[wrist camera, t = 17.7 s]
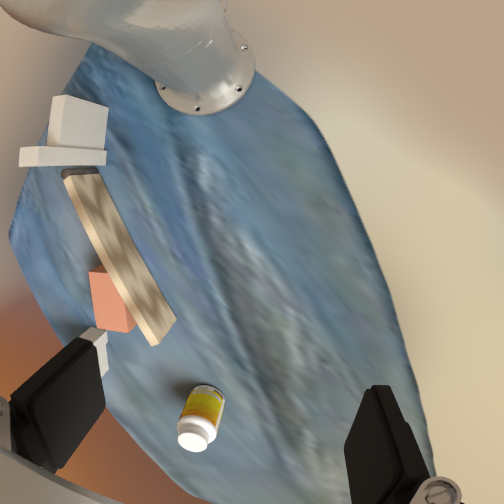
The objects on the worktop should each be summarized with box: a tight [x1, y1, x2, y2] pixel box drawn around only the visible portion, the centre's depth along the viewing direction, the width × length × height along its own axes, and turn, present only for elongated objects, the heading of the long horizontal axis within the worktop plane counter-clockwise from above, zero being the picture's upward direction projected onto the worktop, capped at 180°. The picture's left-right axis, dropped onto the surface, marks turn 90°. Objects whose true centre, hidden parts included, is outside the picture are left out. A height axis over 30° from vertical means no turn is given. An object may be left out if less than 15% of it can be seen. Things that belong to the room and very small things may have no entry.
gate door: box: [61, 168, 177, 346], centre depth 37 cm, size 24×1×7 cm, turn 27°
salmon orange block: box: [89, 264, 137, 333], centre depth 40 cm, size 8×5×5 cm, turn 179°
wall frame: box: [19, 95, 109, 378], centre depth 35 cm, size 40×3×14 cm, turn 174°
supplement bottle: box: [177, 385, 225, 452], centre depth 41 cm, size 6×6×10 cm
